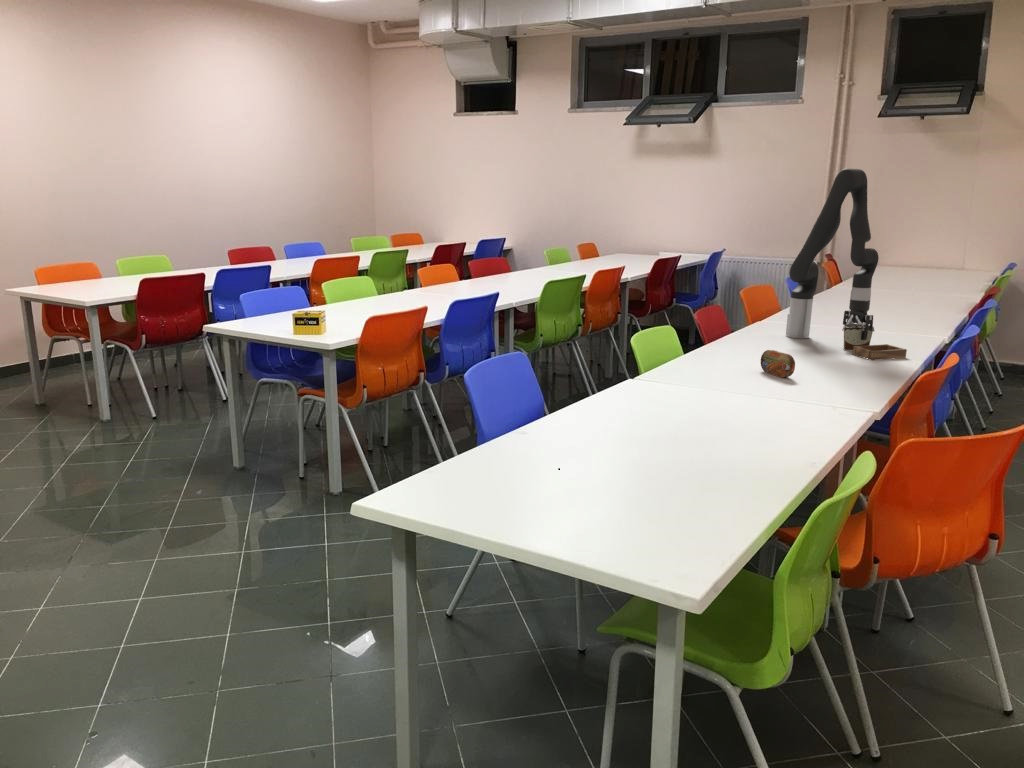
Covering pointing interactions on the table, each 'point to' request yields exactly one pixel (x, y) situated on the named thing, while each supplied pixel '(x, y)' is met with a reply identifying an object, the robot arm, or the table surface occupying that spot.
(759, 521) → the table surface
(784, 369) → the tin
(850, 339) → the food container
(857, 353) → the holder
